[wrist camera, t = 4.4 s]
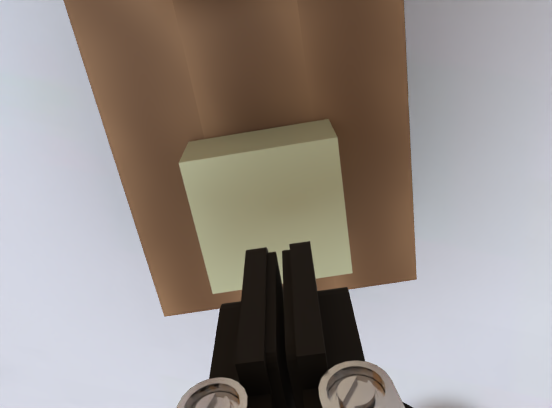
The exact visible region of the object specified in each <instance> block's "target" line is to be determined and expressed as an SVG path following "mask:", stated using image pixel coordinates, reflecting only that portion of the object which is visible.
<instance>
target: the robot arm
mask: <svg viewBox="0 0 552 408" xmlns="http://www.w3.org/2000/svg"><path fill="white" fill-rule="evenodd" d="M289 247H290V250H283V251H282V268H283V286H282V281H281V275H280V270H279V265H278V259H277V254H276V252H269V253H268V249H267V247H264V248H257V249H250V250H246V253H245V263H244V274H243V285H242V295H241V301H239V302H231V303H224V304H222V305H221V307H220V312H219V318H218V325H217V331H216V338H215V344H214V351H213V357H212V364H211V371H210V377H209V379H208V380H205V381H202V382H200V383H198V384H196V385H195V386H193V387H192V388H190V389H189V390H188V391H187V392H186V393H185V394H184V395H183V396H182V398H181V400H180V402H179V403H178V405H177V408H413V407H411V406H409V405H407V404H405V403H404V402H402V400H401V398H400V396H399V394H398V392H397V390H396V388H395V386H394V384H393V382H392V380H391V378H390V377H389V376H388V374H387V373H386V372H385V371H384V370H383V369H381V368H380V367H378V366H377V365H374V364H372V363H369V362H365V359H364V355H363V351H362V346H361V342H360V338H359V333H358V329H357V325H356V321H355V316H354V312H353V308H352V304H351V299H350V295H349V291H348V288H347V287H343V288H335V289H328V290H320V291H317V284H316V277H315V271H314V264H313V257H312V251H311V244H310V241H307V242H300V243H293V244H289Z"/></svg>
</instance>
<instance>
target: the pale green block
mask: <svg viewBox="0 0 552 408" xmlns="http://www.w3.org/2000/svg"><path fill="white" fill-rule="evenodd" d="M179 167H180V170H181V174H182V178H183V182H184V186H185V190H186V193H187V197H188V201H189V205H190V209H191V213H192V216H193V220H194V224H195V228H196V232H197V236H198V239H199V243H200V247H201V251H202V255H203V258H204V262H205V266H206V270H207V274H208V278H209V281H210V285H211V289H212V293H213V294H216V293H223V292H230V291H236V290H242V285H243V274H244V263H245V253H246V250H250V249H257V248H264V247H267V249H268V253H269V252H276V254H277V259H278V265H279V270H280V275H281V281H282V284H283V268H282V251H283V250H290V247H289V244H293V243H300V242H307V241H310V244H311V251H312V257H313V264H314V271H315V277H316V279H317V278H324V277H331V276H337V275H344V274H351V273H353V272H352V263H351V254H350V245H349V236H348V227H347V218H346V209H345V200H344V192H343V183H342V174H341V165H340V156H339V147H338V138H337V135H336V133H335V131H334V129H333V127H332V125H331V123H330V121H329V119H324V120H318V121H312V122H306V123H300V124H294V125H288V126H282V127H275V128H269V129H263V130H257V131H251V132H245V133H239V134H233V135H227V136H221V137H214V138H208V139H202V140H196V141H190V142H188V144H187V146H186V148H185V151H184V153H183V155H182V157H181V159H180V161H179Z"/></svg>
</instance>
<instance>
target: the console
mask: <svg viewBox="0 0 552 408" xmlns="http://www.w3.org/2000/svg"><path fill="white" fill-rule="evenodd" d="M64 3H65V6H66V10H67V13H68V16H69V19H70V22H71V25H72V28H73V32H74V35H75V38H76V41H77V44H78V47H79V50H80V53H81V57H82V60H83V63H84V66H85V69H86V72H87V75H88V78H89V82H90V85H91V88H92V91H93V94H94V97H95V100H96V104H97V107H98V110H99V113H100V116H101V119H102V122H103V125H104V129H105V132H106V135H107V138H108V141H109V144H110V147H111V150H112V154H113V157H114V160H115V163H116V166H117V169H118V172H119V176H120V179H121V182H122V185H123V188H124V191H125V194H126V197H127V201H128V204H129V207H130V210H131V213H132V216H133V219H134V222H135V226H136V229H137V232H138V235H139V238H140V241H141V244H142V248H143V251H144V254H145V257H146V260H147V263H148V266H149V269H150V273H151V276H152V279H153V282H154V285H155V288H156V291H157V294H158V298H159V301H160V304H161V307H162V310H163V313H164V316H172V315H178V314H185V313H192V312H199V311H206V310H212V309H219V308H220V307H221V305H222V304H224V303H231V302H239V301H241V295H242V290H236V291H230V292H223V293H216V294H213V293H212V289H211V285H210V281H209V278H208V274H207V270H206V266H205V262H204V258H203V255H202V251H201V247H200V243H199V239H198V236H197V232H196V228H195V224H194V220H193V216H192V213H191V209H190V205H189V201H188V197H187V193H186V190H185V186H184V182H183V178H182V174H181V170H180V167H179V161H180V159H181V157H182V155H183V153H184V151H185V148H186V146H187V144H188V142H190V141H196V140H202V139H208V138H214V137H221V136H227V135H233V134H239V133H245V132H251V131H257V130H263V129H269V128H275V127H282V126H288V125H294V124H300V123H306V122H312V121H318V120H324V119H329V121H330V123H331V125H332V127H333V129H334V131H335V133H336V135H337V138H338V147H339V156H340V165H341V174H342V183H343V192H344V200H345V209H346V218H347V227H348V236H349V245H350V254H351V263H352V272H353V273H351V274H344V275H337V276H331V277H324V278H317V279H316V284H317V291H320V290H328V289H335V288H343V287H347V288H348V289H355V288H362V287H368V286H375V285H382V284H389V283H396V282H402V281H409V280H416V279H417V278H416V256H415V234H414V213H413V191H412V170H411V148H410V126H409V105H408V83H407V62H406V40H405V18H404V0H64ZM282 286H283V284H282Z"/></svg>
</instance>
